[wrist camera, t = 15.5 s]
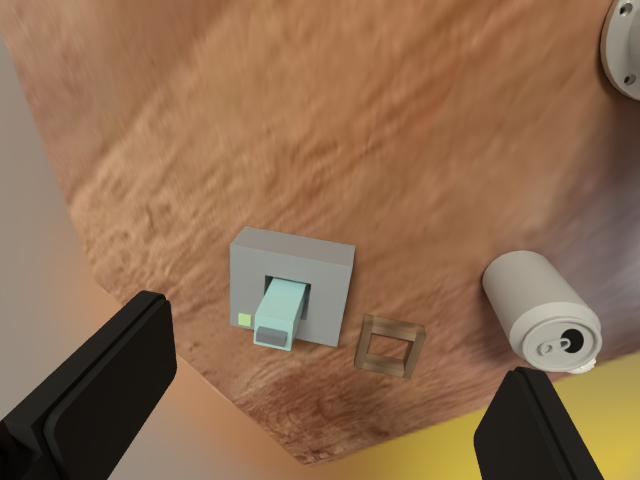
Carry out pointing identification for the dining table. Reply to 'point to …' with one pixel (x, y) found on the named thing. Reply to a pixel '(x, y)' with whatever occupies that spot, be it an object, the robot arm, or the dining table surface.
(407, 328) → the square wooden frame
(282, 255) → the port block
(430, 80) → the dining table surface
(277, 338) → the plug
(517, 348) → the can
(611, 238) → the dining table surface
